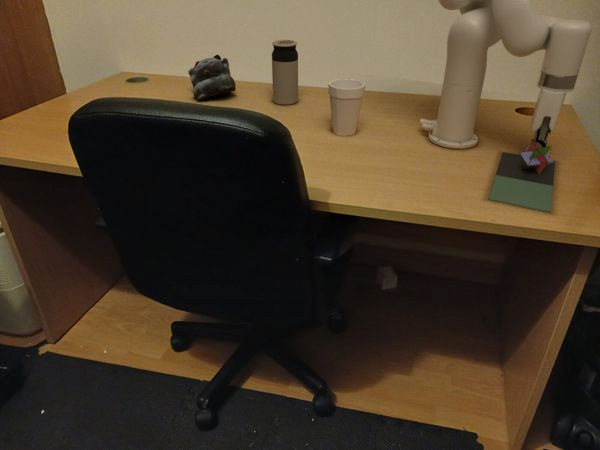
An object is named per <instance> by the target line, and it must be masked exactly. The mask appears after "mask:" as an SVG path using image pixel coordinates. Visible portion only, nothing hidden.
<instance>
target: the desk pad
mask: <svg viewBox="0 0 600 450" xmlns="http://www.w3.org/2000/svg"><path fill="white" fill-rule="evenodd" d="M523 161H524V159H523V158H522V156H521V155H520V154H517V153H512V152H511V153H510V152H505V151H502V153H501V157H500V161H499V163H498V166H497V170H496V173H495V177H494V180H493V183H492V185H491V186H492V187H491V190H490V193H489V196H488V199H487V200H489V201H491V202H498V203H502V204H507V205H511V206H516V207H520V208H525V209H529V210H535V211H539V212H544V213H549V214H551V213H552V207H553V206H552V205H553V204H552V203H553V193H554V180H555V169H556V160H552V161H553V162H554V163H551V164H550V163H548V164H547V165H546V167H545V168H544V169H543V171H542V172H541V173H540V175H539V173H538V172H537V170H536V169H535V167H532V169H531V168H524V169H525V170H524V169H522V168H523V167H522V165H523V166H524V165H525V163H526V162H525V161H524V162H523ZM550 165H551V166H550ZM545 169H546V170H545ZM527 170H528V171H527ZM530 171H531V172H530ZM535 171H536V172H537V173H536V172H535Z"/></svg>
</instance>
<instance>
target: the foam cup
mask: <svg viewBox="0 0 600 450" xmlns="http://www.w3.org/2000/svg"><path fill="white" fill-rule="evenodd" d="M365 91H366V83H365V82H364V81H361V80H358V79H353V78H338V79H337V78H336V79H333V80H331V81H330V82H329V83H328V95H329V105H330V114H331V115H330V116H331V125H332V132H333V133H334V134H336V135H338V136H351V135H354V134H356V133H357V128H358V124H359V118H360V114H361V108H362V104H363V99H364V95H365Z"/></svg>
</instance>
